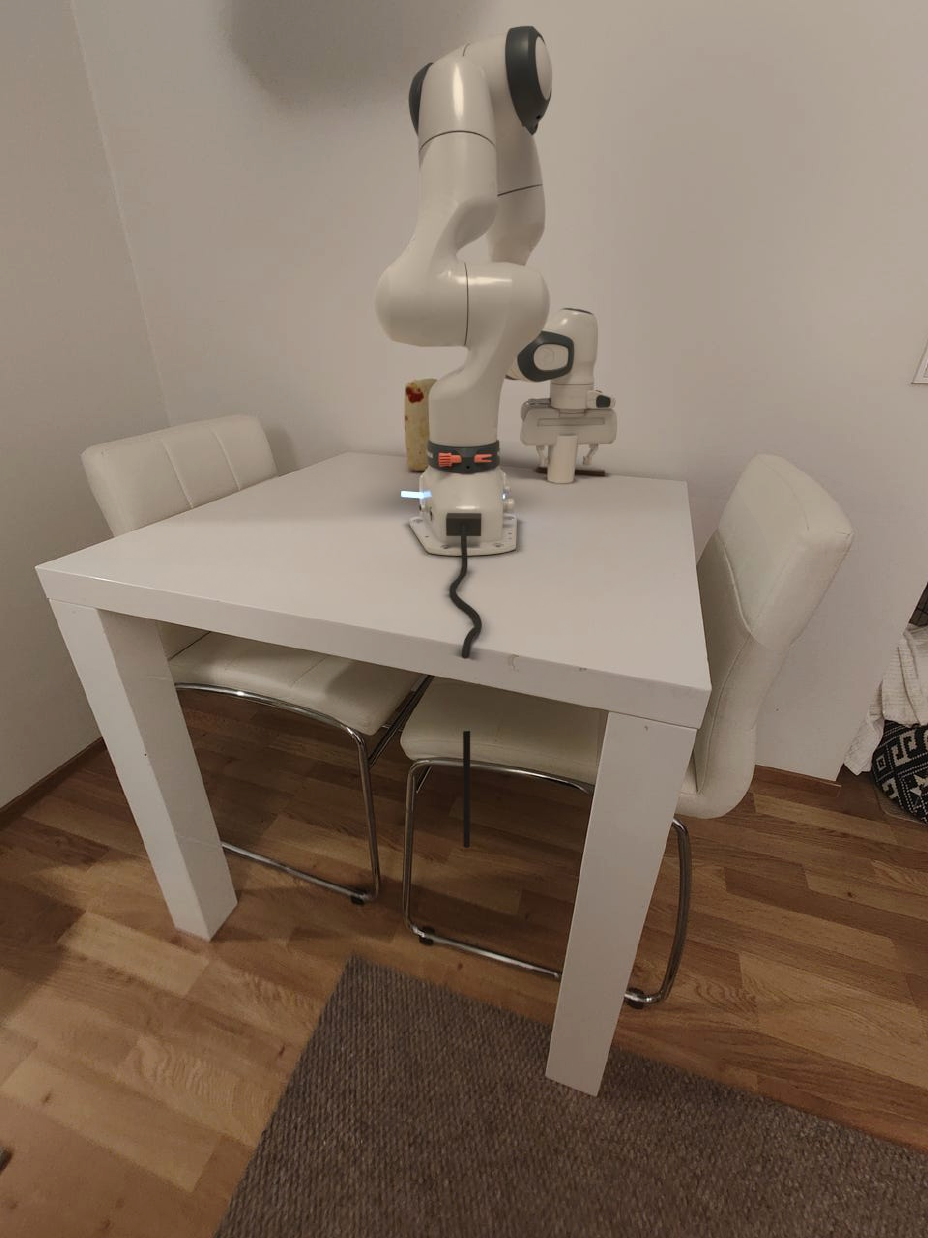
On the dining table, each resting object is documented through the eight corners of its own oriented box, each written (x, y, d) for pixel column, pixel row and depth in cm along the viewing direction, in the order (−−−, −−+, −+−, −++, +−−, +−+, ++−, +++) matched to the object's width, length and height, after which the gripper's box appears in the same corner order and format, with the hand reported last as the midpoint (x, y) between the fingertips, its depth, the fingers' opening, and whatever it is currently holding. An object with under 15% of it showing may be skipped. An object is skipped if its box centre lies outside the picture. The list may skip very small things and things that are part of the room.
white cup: (539, 479, 126) (542, 433, 121) (556, 474, 130) (560, 429, 125) (564, 485, 122) (568, 437, 117) (581, 479, 126) (585, 432, 121)
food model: (413, 475, 130) (409, 380, 120) (401, 469, 135) (396, 378, 125) (451, 470, 134) (450, 378, 124) (438, 464, 139) (436, 376, 130)
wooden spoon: (605, 472, 131) (606, 467, 131) (603, 477, 128) (604, 472, 127) (538, 467, 136) (539, 462, 135) (534, 472, 132) (535, 466, 132)
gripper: (524, 400, 114) (521, 469, 120) (623, 398, 115) (615, 467, 122) (518, 396, 119) (515, 463, 126) (613, 395, 121) (605, 461, 128)
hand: (565, 465), depth 124 cm, fingers open, 8 cm apart
